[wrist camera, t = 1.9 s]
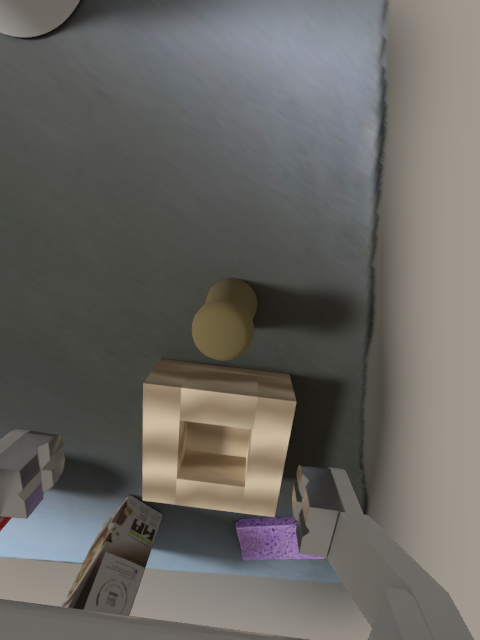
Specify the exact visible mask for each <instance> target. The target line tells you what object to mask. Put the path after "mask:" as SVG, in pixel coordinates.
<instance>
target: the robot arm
mask: <svg viewBox="0 0 480 640" xmlns="http://www.w3.org/2000/svg"><path fill="white" fill-rule="evenodd" d="M79 1H80V0H0V33H3V34H6V35H9V36H14V37H34V36H39V35H42V34H45V33H47V32H50V31H51V30H53V29H55V28H56V27H58V26H59V25H61V24H62V23H63V22H64V21H65V20H66V19H67V18H68V17H69V16H70V15H71V13H72V12H73V11H74V9H75V8H76V6H77V5H78V3H79ZM63 445H64V444H63V438H62V436H60V435H55V434H48V433H42V432H35V431H26V430H19V429H16V430H13V431H11V432H9V433H8V434H7V435H5V436H4V437H3V438H2V439H0V516H4V517H15V518H26V519H27V518H28V517H29V515H30V514H31V513H32V512H33V511H34V509H35V508H36V507H37V506H38V504H39V503H40V502H41V501H42V500H43V492H44V491H46V490H48V489H49V488H51V487H53V486H54V485H55V483H56V482H57V481H58V480H59V478H60V476H61V474H62V472H63V470H64V465H65V456H64V454H63V453H62V452H61V451H60V449H61V447H62V446H63ZM296 475H297V482H296V483H295V484H294V487H293V494H292V507H293V516H294V518H295V519H296V520H297V521H298V522H297V527H296V536H297V543H298V549H299V553H300V554H306V555H312V556H319V557H325V558H327V560H328V562H329V563H330V565H331V566H332V568H333V569H334V571H335V572H336V574H337V575H338V577H339V578H340V580H341V581H342V583H343V584H344V586H345V587H346V589H347V590H348V592H349V594H350V595H351V597H352V598H353V600H354V601H355V603H356V604H357V606H358V607H359V609H360V610H361V612H362V614H363V615H364V617H365V618H366V620H367V621H368V623H369V624H370V626H371V627H372V630H371V633H370V636H369V638H368V640H474V639H473V637H472V635H471V633H470V631H469V629H468V628H467V626H466V624H465V622H464V621H463V618H462V617H461V615H460V613H459V611H458V609H457V608H456V606H455V604H454V602H453V600H452V599H451V597H450V595H449V593H448V592H446V591H445V589H444V588H442V587H441V586H440V585H439V584H438V583H437V582H436V581H435V580H434V579H433V578H432V577H431V576H430V575H429V574H428V573H427V572H426V571H425V570H424V569H423V568H422V567H421V566H420V565H419V564H418V563H417V562H416V561H415V560H414V559H413V558H411V556H409V555H408V554H407V553H406V552H405V551H404V550H403V549H402V548H401V547H400V546H399V545H398V544H397V543H396V542H395V541H394V540H393V539H392V538H391V537H390V536H389V535H388V534H387V533H386V532H385V531H384V530H383V529H382V528H381V527H380V526H379V525H378V524H377V523H375V522H374V521H373V520H372V519H371V518H370V517H369V516H368V515H363V512H362V510H361V508H360V505H359V503H358V500H357V498H356V495H355V493H354V490H353V488H352V485H351V483H350V481H349V478H348V476H347V473H346V471H345V470H344V469H337V468H326V467H317V466H309V465H300V464H299V466H298V468H297V472H296ZM0 640H308V639H300V638H293V637H284V636H278V635H270V634H263V633H254V632H247V631H240V630H232V629H225V628H217V627H210V626H201V625H194V624H187V623H179V622H171V621H164V620H156V619H149V618H141V617H133V616H126V615H118V614H111V613H103V612H96V611H88V610H80V609H73V608H65V607H57V606H49V605H42V604H35V603H27V602H19V601H12V600H4V599H0Z"/></svg>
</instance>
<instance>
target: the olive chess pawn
mask: <svg viewBox="0 0 480 640" xmlns="http://www.w3.org/2000/svg"><path fill="white" fill-rule="evenodd" d="M257 302H258V301H257V298H256V294H255V292H254V291H253V289H252V288H251V286H249V285H248V284H247V283H246V282H244V281H242V280H239V279H234V278H227V279H224V280H220V281H219V282H217V283H216V284H214V285H213V286H212V288H211V289H210V290H209V292H208V295H207V297H206V302H205V305H203V306H202V307H201V308H200V310H199V311H198V312H197V314H196V315H195V317H194V320H193V323H192V336H193V339H194V342H195V345H196V346H197V347H198V349H199V350H200V351H201V352H202V353H203V354H205V355H206V356H208V357H210V358H212V359H215V360H224V361H227V360H231V359H235V358H237V357H238V356H240V355H242V354H243V353H244V352H245V351H246V349H247V348H248V347H249V346H250V344H251V342H252V339H253V337H254V324H253V318H254V316H255V313H256V311H257Z"/></svg>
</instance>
